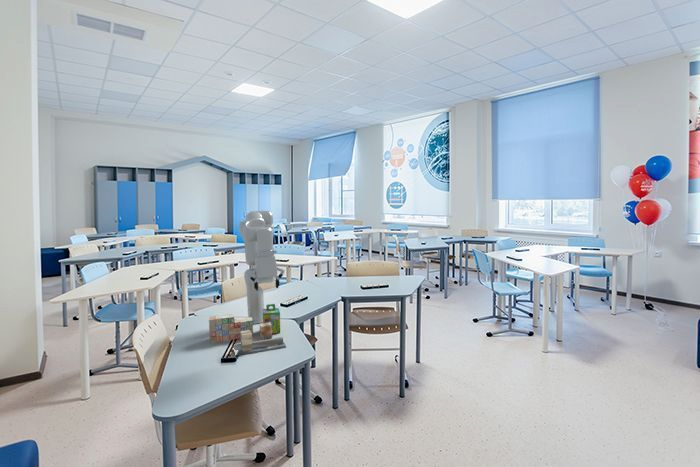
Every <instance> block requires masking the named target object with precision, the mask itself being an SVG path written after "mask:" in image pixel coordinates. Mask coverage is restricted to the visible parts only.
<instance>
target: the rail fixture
mask: <svg viewBox="0 0 700 467" xmlns="http://www.w3.org/2000/svg"><path fill="white" fill-rule="evenodd" d="M240 333H241V339H240V343H237V344H234V345H233V347H234V349H235V350H239V352H238V356H237V357H239V356H244V355H249V354H250V355H251V354H255V353H260V352H261V353H262V352H267V351H273V350H279V349H284V348H287V346H286V344H285V342H284V337H282V336H280V337H275V338H273V337H272V339H269V338H268V339H263V340H260V339H259V340H256V341H253V340H254V339H253V338H254V337H252V332H251V331H250V330H247V331H241V332H240Z"/></svg>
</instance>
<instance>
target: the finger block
mask: <svg viewBox="0 0 700 467" xmlns="http://www.w3.org/2000/svg"><path fill="white" fill-rule="evenodd" d="M265 336H268V339H273V334H272V325H271V323H270V322H269V323H263V322H262V323H259V341H260V340H264V337H265Z"/></svg>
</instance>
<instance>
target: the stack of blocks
mask: <svg viewBox="0 0 700 467" xmlns="http://www.w3.org/2000/svg"><path fill="white" fill-rule="evenodd" d="M253 325H254V324H253V322H252V317H249V318H248V317H241V318H235V313H229V314H227V313H226V314H221V315H211V316H209V318H208V327H209V328H208V329H209V339H210V340H209V341H210V342H209V343H210V344H211V343H221V342H227V341H228V342H229V341H233V340H232V339H237V340H241V339H240V338H241V333H240V332H241V331H247V330H250V331H251V332H252V338H254V327H253Z"/></svg>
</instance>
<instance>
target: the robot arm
mask: <svg viewBox="0 0 700 467" xmlns="http://www.w3.org/2000/svg"><path fill="white" fill-rule="evenodd" d="M273 222H274V216H273V214H272V212H271V211H270V210H253V211H250V212H248V213H247V214H246V216H245V220H241V222H239V224H238V229H239V233H240V236H241V237H242V240H243V244H244V253H245V254H244V256H245V262H246V265H247V266H250V267H251V266H252V268H248V269H246V270H245V271H244V277H243V278H244V283H245V287H246V302H247V306H246V307H247V318H249V317H252V322H253V325H257V324H262V323H263V309H265V299H264V298H265V297H264V290H263V288H262V287H261V286H260V285H261V284H269V283H273V282H274V281H275V288H276V289H279V287H280V280H281V278H282V277H284V276H283V275H284V273H285V270H284V269H283V268H280V267H278V266H277V265H278V263H277V259H276V254H277V250H274V241H273V240H274V229H272V227H273ZM253 266H254V267H253ZM278 272H280V273H279V275H278Z"/></svg>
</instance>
